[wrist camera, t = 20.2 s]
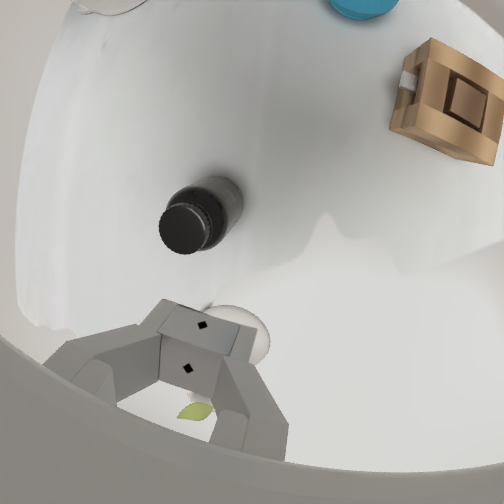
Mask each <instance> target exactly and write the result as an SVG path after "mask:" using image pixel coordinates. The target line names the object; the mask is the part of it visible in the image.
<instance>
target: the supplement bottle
mask: <svg viewBox="0 0 504 504" xmlns="http://www.w3.org/2000/svg"><path fill="white" fill-rule="evenodd" d="M242 210H243V198H242V195H241V192H240V191H239V189H238V188H237V186H236V185H235V184H234V183H233V182H231V181H230V180H228V179H226V178H223V177H209V178H206V179H203V180H201V181H199V182H196V183H194V184H192V185H190V186H187V187H185V188H183V189H181V190H179V191H178V192H177V193H175V194H174V195H173V196H172V198H171V199H170V200H169V202H168V204H167V207H166V211H165V212H164V213H163V215H162V216H161V220H160V221H159V232H160V236H161V238H162V241H163V242H164V244H165V245H167V247H168V248H170V249H171V251H174V252H175V253H179V254H184V255H186V254H191V253H195V252H196V251H205V250H208V249H211V248H213V247H215V246H216V245H217V244H219V243H220V242H221V241H222V239H223V238H224V237H225V236H226V234H227V233H228V232H229V231H230V229H231V228H232V227H233V226H234V224H235V223H236V222H237V221H238V219H239V218H240V216H241V213H242Z"/></svg>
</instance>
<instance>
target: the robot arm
mask: <svg viewBox="0 0 504 504" xmlns="http://www.w3.org/2000/svg"><path fill="white" fill-rule="evenodd" d="M71 1H73V2H75V3H76V4H78V11H79V12H80V13H82V14H88V13H92V12H96V13H99V14H102V15H117V14H121V13H124V12H126V11H129V10H131V9H133V8H135V7H136V6H138V5H140V4H141V3H143V2H144V1H145V0H71ZM257 331H258V329H257V328H255V327H251V326H247V325H243V324H238V323H235V322H231V321H228V320H224V319H221V318H218V317H214V316H211V315H209V314H206V313H203V312H200V311H198V310H195V309H192V308H189V307H186V306H183V305H181V304H178V303H175V302H172V301H169V300H166V299H162V300H161V301H160V302H159V303H158V304H157V305H156V306H155V308H154V309H153V310H152V311H151V312H150V313H149V315H148V316H147V317H146V318H145V319H144V320H143V321H142V323H141V324H140V325H137V324H133V325H129V326H125V327H121V328H117V329H114V330H110V331H106V332H102V333H98V334H94V335H90V336H86V337H82V338H78V339H74V340H70V341H66V342H65V343H64V344H63V345H62V346H61V347H60V348H59V349H58V350H57V351H56V352H55V353H54V354H53V355H52V356H51V357H50V358H49V359H48V360H47V361H46V362H45V363H44V364H43V365H42V364H40V363H38V362H37V361H35V360H34V359H32V358H31V357H30V356H28V355H26V354H25V353H24V352H22V351H21V350H20V349H18V348H17V347H15V346H14V345H13V344H11V343H10V342H9V341H7V340H6V339H5V338H3V337H2V336H1V335H0V504H504V463H498V464H493V465H487V466H482V467H475V468H467V469H459V470H449V471H435V472H411V473H389V472H388V473H387V472H364V471H363V472H362V471H350V470H339V469H330V468H321V467H314V466H308V465H301V464H295V463H290V462H284V460H285V452H286V444H287V435H288V427H289V424H288V422H287V421H286V419H285V417H284V416H283V414H282V412H281V411H280V409H279V408H278V406H277V404H276V402H275V400H274V399H273V397H272V395H271V394H270V392H269V390H268V389H267V387H266V385H265V383H264V382H263V380H262V378H261V376H260V375H259V373H258V371H257V369H256V368H255V366H254V364H251V363H249V360H250V357H251V353H252V350H253V346H254V342H255V338H256V335H257ZM158 380H161V381H163V382H166V383H169V384H172V385H175V386H178V387H181V388H184V389H186V390H189V391H192V392H194V393H197V394H200V395H203V396H205V397H208V398H211V399H212V402H213V405H214V408H215V412H216V415H217V418H218V419H217V422H216V424H215V427H214V430H213V432H212V435H211V438H210V441H209V443H208V442H205V441H202V440H199V439H195V438H193V437H190V436H187V435H184V434H181V433H178V432H176V431H173V430H170V429H168V428H165V427H162V426H160V425H157V424H155V423H152V422H150V421H147V420H145V419H143V418H140V417H138V416H136V415H133V414H131V413H129V412H127V411H125V410H123V409H120V408H118V407H117V405H116V403H117V402H118V401H121V400H123V399H125V398H127V397H128V396H130V395H132V394H134V393H136V392H138V391H140V390H142V389H144V388H146V387H148V386H150V385H152V384H153V383H156V382H157V381H158Z"/></svg>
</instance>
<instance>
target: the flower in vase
mask: <svg viewBox="0 0 504 504" xmlns="http://www.w3.org/2000/svg"><path fill="white" fill-rule="evenodd" d="M203 313H206V314H209V315H211V316H214V317H218V318H221V319H224V320H228V321H231V322H235V323H238V324H243V325H247V326H251V327H255V328H257V329H258V331H257V335H256V338H255V342H254V346H253V350H252V353H251V357H250V360H249V363H251V364H254V366H255V365H256V364H258V363H259V362H260V361H261V360H262V359H263V358H264V357H265V356H266V354H267V353H268V351H269V347H270V336H269V333H268V330H267V329H266V327H265V325H264V324H263V322H262V321H261V320H260V319H259V318H258V317H257V316H255V315H254V314H253V313H251V312H249V311H247V310H245V309H243V308H240V307H236V306H230V305H221V306H215V307H211V308H209V309H207V310H205V311H204V312H203ZM187 395H188V398H189V399H190V401H191V402H192V404H190V405H189V406H187V407H185V408H184V409H183V410H182V411H181V412H180V413H179V415H178V417H177V418H179V419H188V420H195V421H201V420H204V419H205V418H206V417H207V416H208V415H209V414H210V413H211V412H215V408H214V405H213V402H212V399H211V398H208V397H205V396H203V395H200V394H197V393H194V392H192V391H189V390H187Z"/></svg>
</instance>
